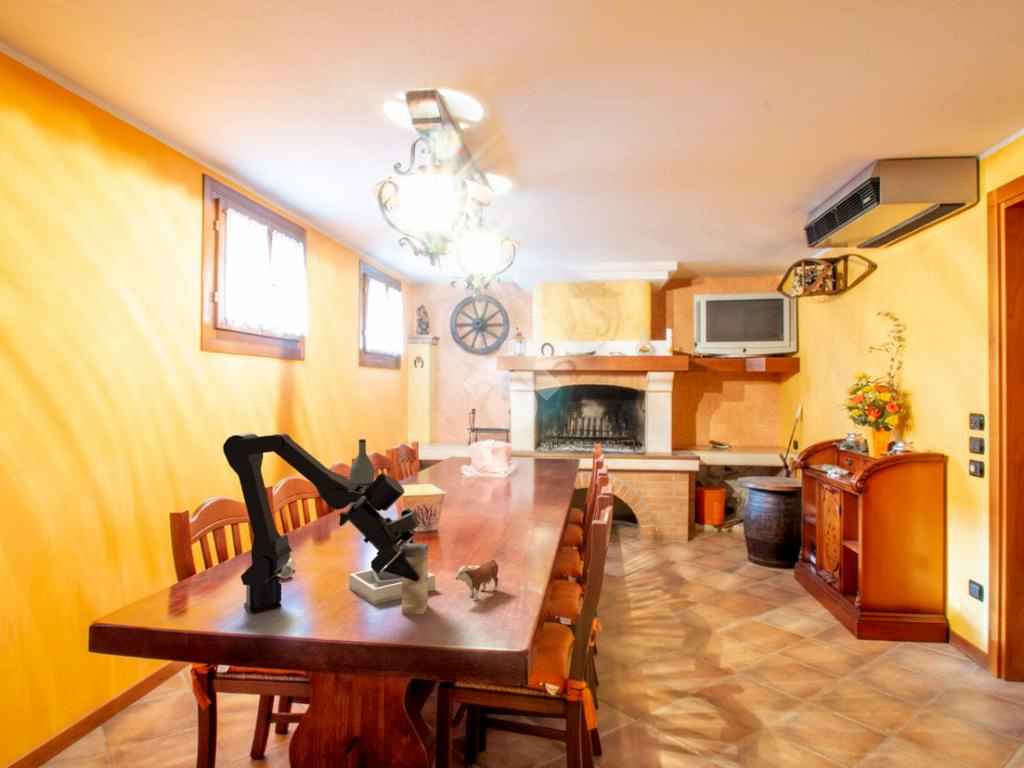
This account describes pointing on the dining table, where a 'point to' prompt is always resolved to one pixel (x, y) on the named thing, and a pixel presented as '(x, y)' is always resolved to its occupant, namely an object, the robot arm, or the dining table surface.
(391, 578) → the walled box
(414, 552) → the wooden block
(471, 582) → the bull figurine
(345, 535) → the dining table surface
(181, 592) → the dining table surface
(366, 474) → the bottle
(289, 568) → the pipe fitting
